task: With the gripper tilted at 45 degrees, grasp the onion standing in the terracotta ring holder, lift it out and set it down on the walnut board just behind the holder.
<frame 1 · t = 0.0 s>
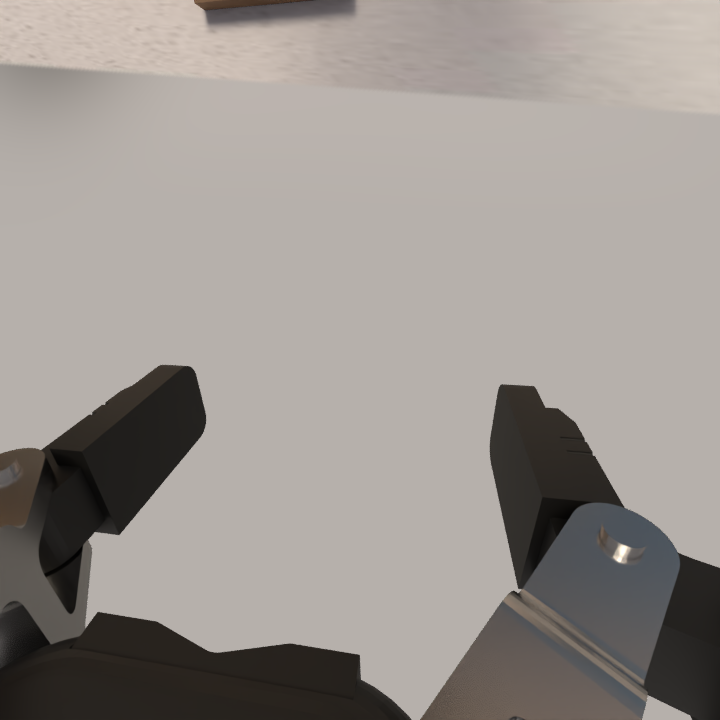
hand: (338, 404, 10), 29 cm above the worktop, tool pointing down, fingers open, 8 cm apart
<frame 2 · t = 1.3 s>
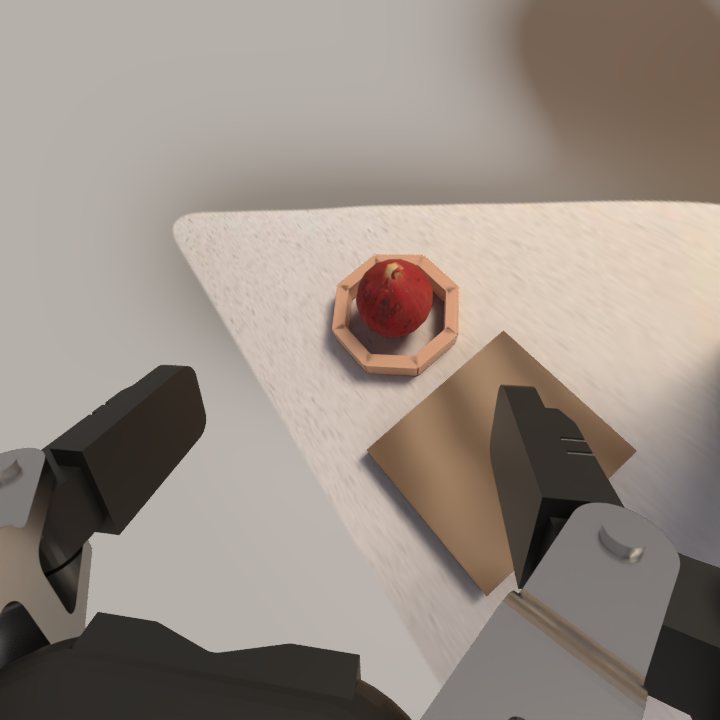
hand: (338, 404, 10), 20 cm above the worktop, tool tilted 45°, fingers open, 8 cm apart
ring holder: (396, 318, 33), on the worktop
walnut board: (491, 452, 29), on the worktop
onion: (396, 319, 33), resting in ring holder
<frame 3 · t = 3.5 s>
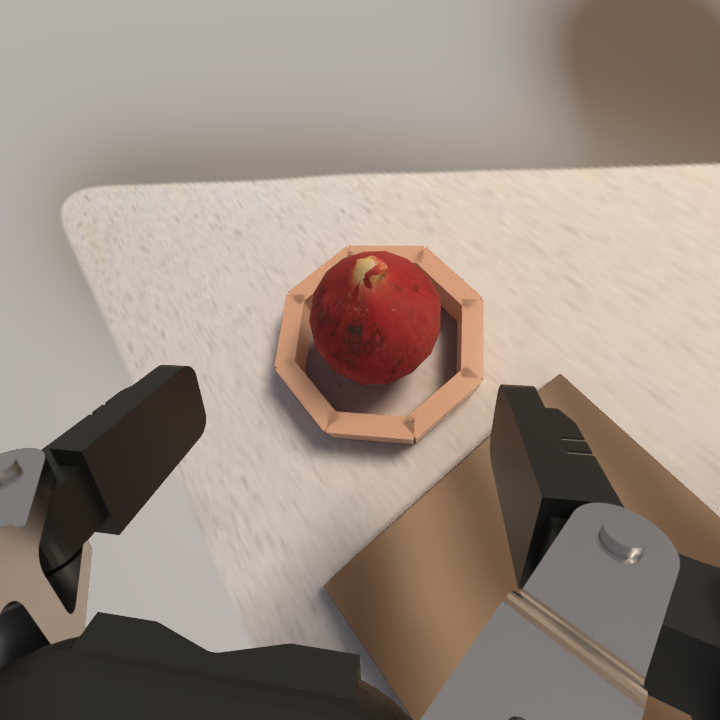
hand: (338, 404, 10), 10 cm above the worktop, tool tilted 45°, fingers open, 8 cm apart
ring holder: (381, 347, 21), on the worktop
walnut board: (543, 589, 16), on the worktop
onion: (381, 348, 21), resting in ring holder
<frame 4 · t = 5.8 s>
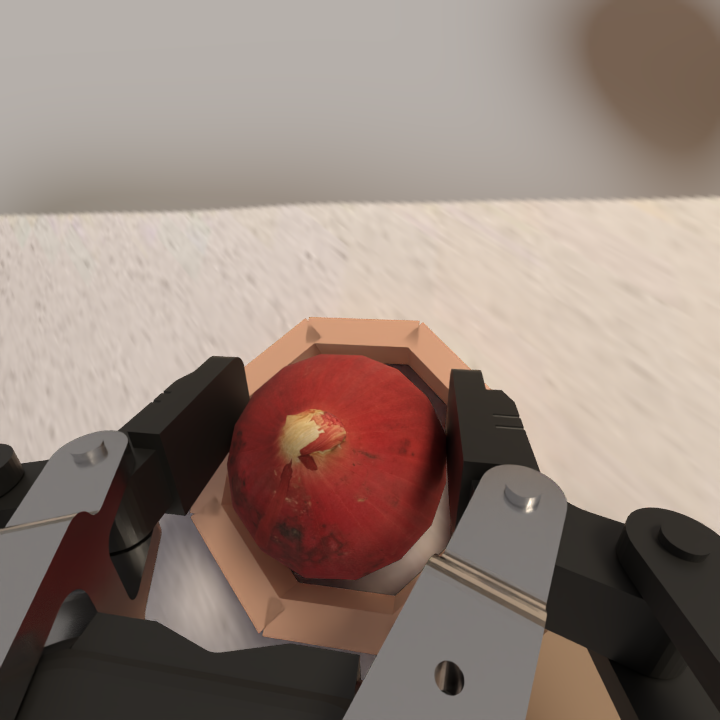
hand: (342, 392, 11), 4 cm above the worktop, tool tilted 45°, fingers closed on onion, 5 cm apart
ring holder: (357, 466, 14), on the worktop
onion: (357, 466, 14), resting in ring holder, touching gripper
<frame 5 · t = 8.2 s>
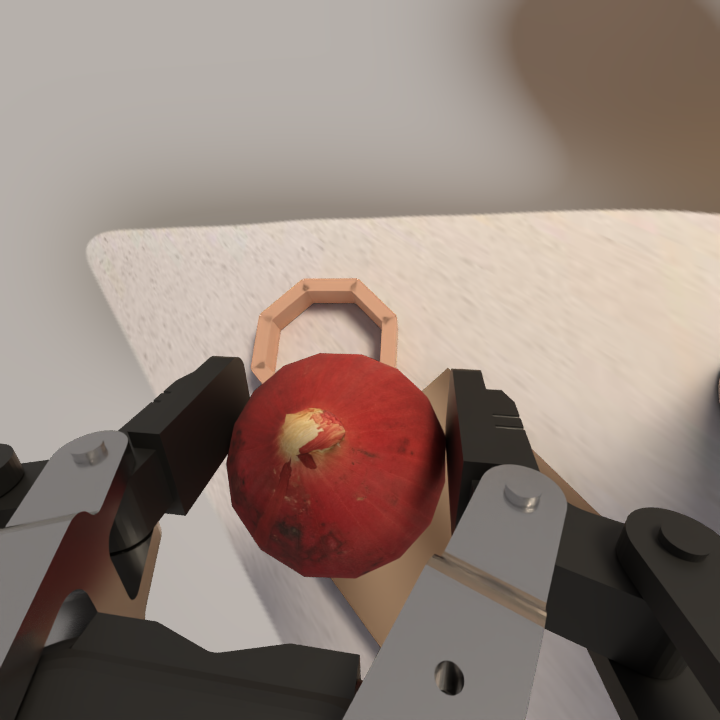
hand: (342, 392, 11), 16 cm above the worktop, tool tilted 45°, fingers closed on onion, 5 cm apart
ring holder: (329, 352, 28), on the worktop
walnut board: (434, 513, 24), on the worktop
onion: (357, 465, 14), point 12 cm above the worktop, touching gripper
when the fingers open (7 cm above the worktop, at t = 10.7 s): onion drops 1 cm, resting on walnut board.
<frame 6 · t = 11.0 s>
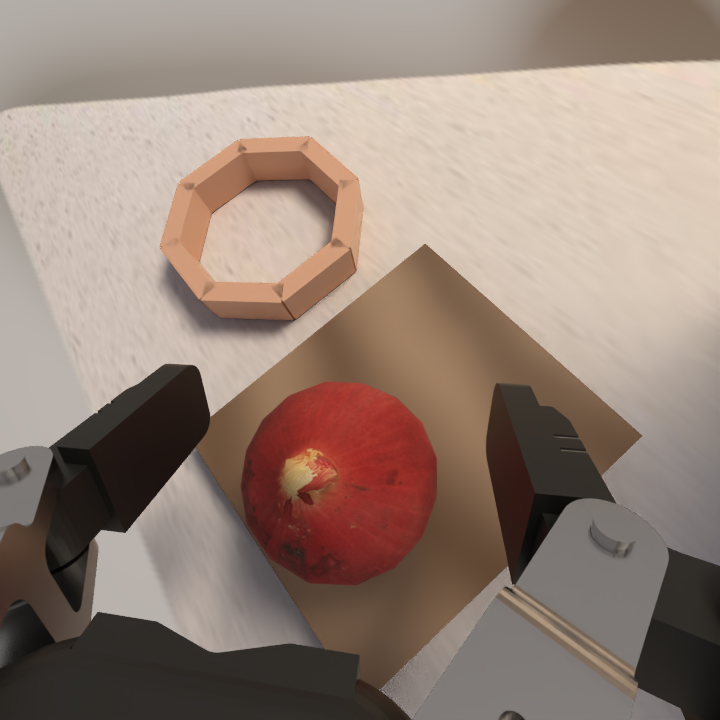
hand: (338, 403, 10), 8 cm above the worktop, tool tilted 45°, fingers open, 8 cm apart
ring holder: (271, 237, 21), on the worktop
walnut board: (399, 439, 17), on the worktop
onion: (362, 472, 16), point 1 cm above the worktop, touching walnut board
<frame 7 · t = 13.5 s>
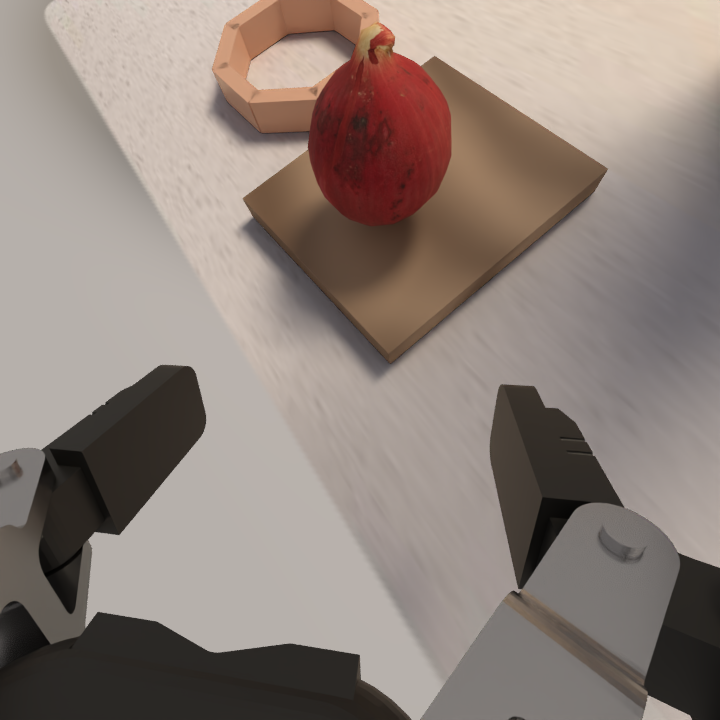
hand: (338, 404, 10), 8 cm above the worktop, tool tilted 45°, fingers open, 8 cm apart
ring holder: (303, 73, 25), on the worktop
walnut board: (414, 204, 21), on the worktop
onion: (385, 213, 19), point 1 cm above the worktop, touching walnut board
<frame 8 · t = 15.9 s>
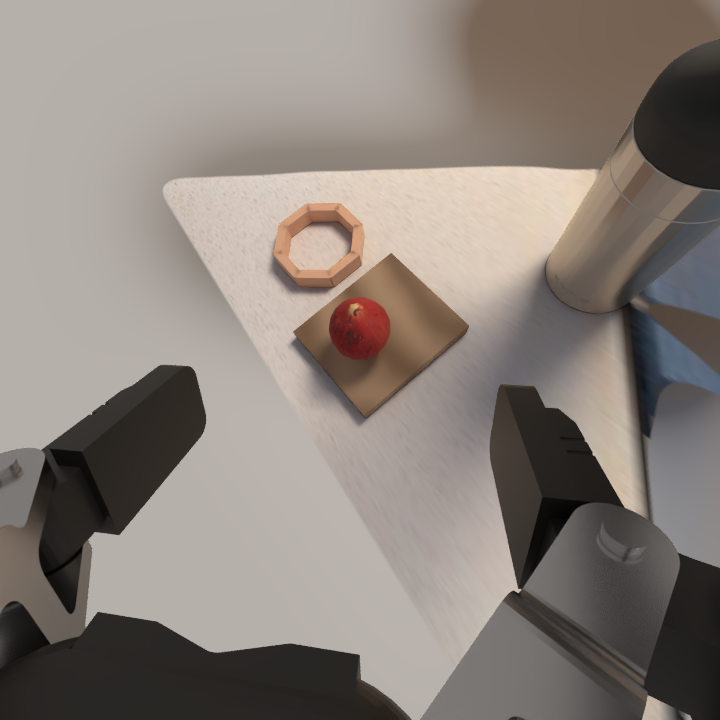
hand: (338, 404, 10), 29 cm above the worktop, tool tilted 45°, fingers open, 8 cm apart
ring holder: (321, 249, 46), on the worktop
walnut board: (379, 334, 41), on the worktop
onion: (364, 343, 40), point 1 cm above the worktop, touching walnut board
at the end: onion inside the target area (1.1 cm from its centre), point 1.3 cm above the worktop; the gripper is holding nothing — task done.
